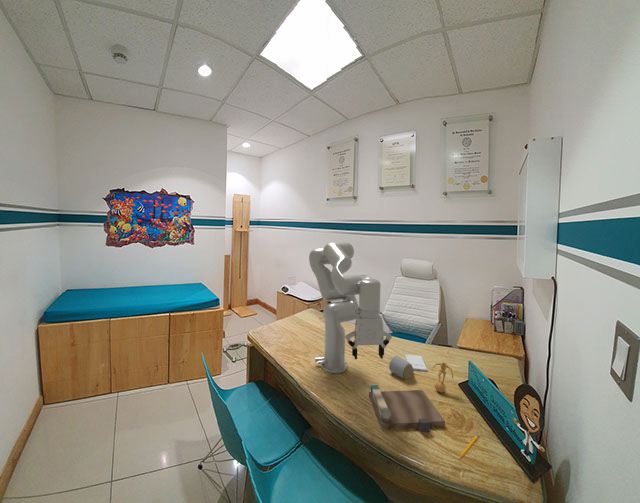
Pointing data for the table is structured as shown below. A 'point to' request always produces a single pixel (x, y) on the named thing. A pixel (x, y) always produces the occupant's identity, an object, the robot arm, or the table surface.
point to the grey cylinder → (400, 367)
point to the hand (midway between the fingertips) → (368, 357)
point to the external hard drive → (416, 362)
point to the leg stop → (423, 425)
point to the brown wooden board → (407, 409)
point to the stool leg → (381, 404)
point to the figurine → (440, 385)
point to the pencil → (468, 446)
